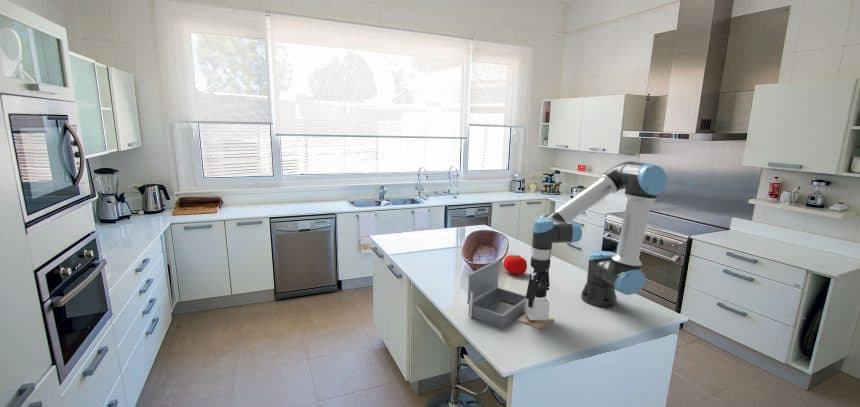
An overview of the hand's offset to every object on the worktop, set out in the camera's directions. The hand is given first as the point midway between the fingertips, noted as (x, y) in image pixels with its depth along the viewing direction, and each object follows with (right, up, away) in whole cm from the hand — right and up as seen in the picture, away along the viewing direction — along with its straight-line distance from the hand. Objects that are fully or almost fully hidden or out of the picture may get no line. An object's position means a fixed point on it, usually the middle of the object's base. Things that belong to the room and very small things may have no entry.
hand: (536, 309), depth 159 cm
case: (-14, -3, +8) cm, 16 cm away
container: (0, -3, +1) cm, 3 cm away
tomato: (+3, +5, +53) cm, 53 cm away
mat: (0, -5, +1) cm, 5 cm away
